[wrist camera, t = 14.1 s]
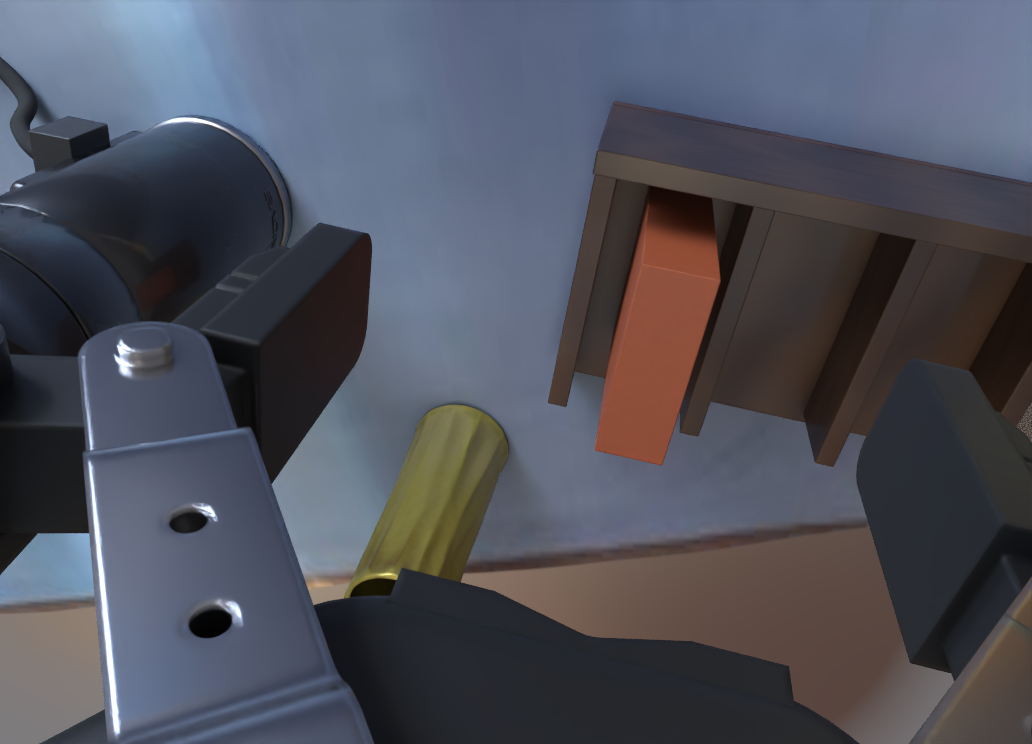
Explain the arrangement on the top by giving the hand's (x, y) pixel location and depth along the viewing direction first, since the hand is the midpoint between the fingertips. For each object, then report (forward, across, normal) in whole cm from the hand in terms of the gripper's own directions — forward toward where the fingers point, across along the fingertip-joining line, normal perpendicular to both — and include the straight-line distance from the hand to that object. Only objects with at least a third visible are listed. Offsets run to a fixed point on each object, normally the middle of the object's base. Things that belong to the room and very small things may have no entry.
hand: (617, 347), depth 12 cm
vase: (+29, +6, +26) cm, 39 cm away
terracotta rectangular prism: (+28, -3, +10) cm, 30 cm away
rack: (+29, -10, +10) cm, 32 cm away
